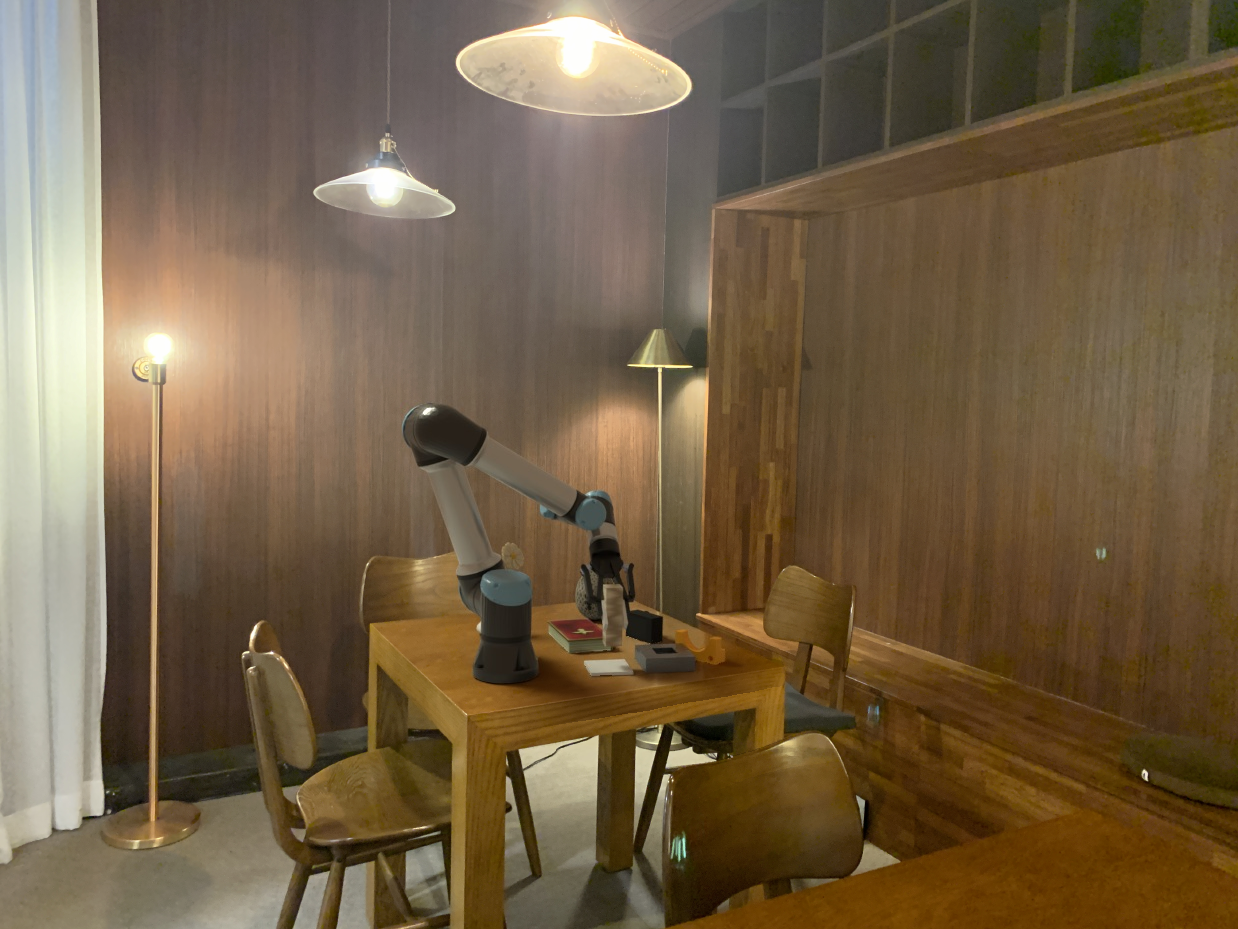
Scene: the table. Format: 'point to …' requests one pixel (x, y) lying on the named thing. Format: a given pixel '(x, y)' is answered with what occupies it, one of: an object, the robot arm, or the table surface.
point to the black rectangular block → (645, 626)
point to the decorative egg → (581, 598)
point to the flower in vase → (510, 561)
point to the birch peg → (613, 614)
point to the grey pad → (608, 667)
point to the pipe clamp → (708, 654)
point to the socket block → (664, 658)
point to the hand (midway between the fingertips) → (615, 626)
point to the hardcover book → (577, 635)
